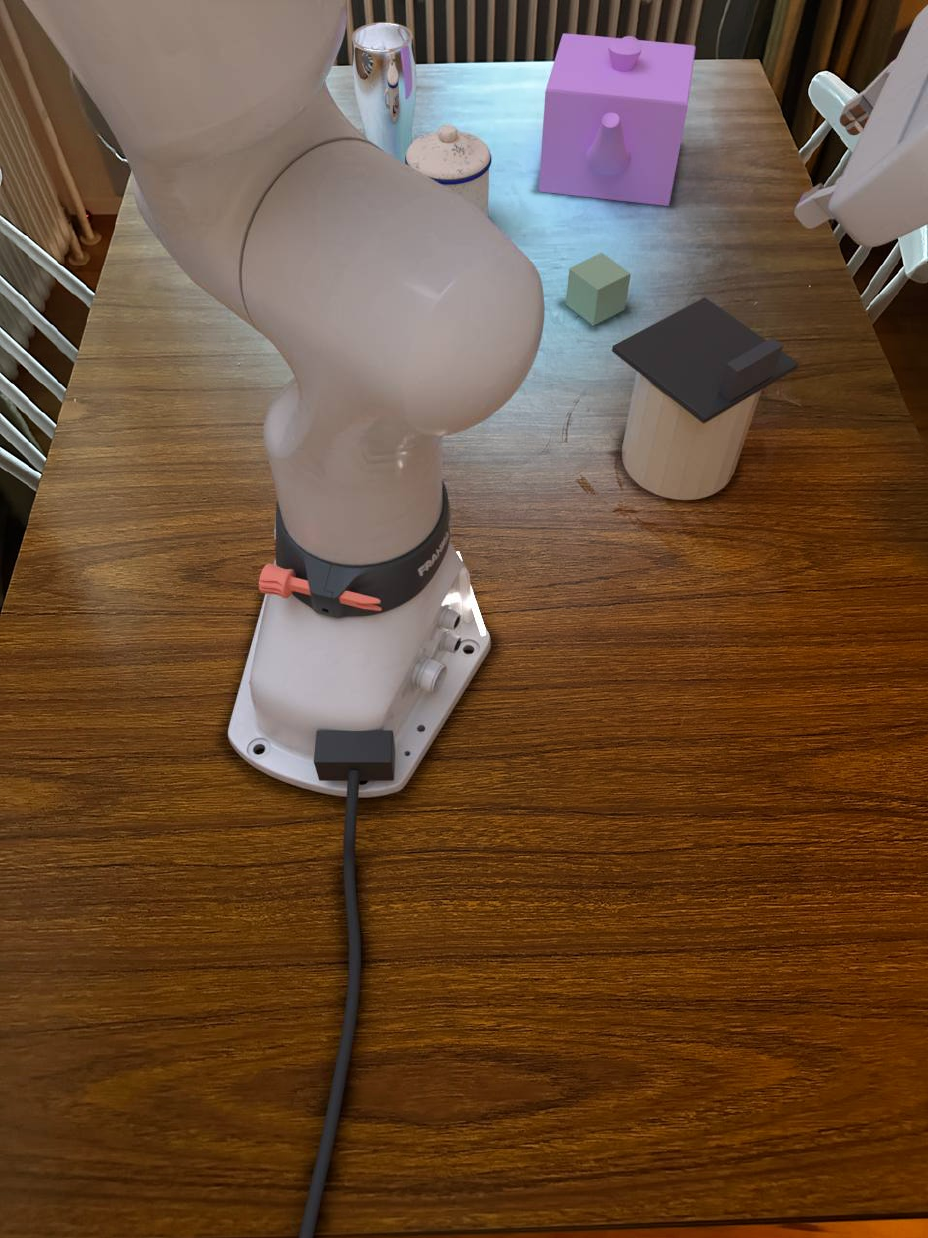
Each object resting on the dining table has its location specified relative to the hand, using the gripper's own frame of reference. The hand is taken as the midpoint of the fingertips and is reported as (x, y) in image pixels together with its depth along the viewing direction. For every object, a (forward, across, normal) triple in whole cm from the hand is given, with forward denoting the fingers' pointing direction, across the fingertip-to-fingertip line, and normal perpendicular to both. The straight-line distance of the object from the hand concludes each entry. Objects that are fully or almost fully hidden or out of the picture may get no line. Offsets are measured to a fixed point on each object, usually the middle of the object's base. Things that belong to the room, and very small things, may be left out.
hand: (825, 166), depth 63 cm
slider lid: (+16, +4, +7) cm, 18 cm away
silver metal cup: (+58, -24, -19) cm, 65 cm away
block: (+36, -11, +4) cm, 38 cm away
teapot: (+45, -35, 0) cm, 57 cm away
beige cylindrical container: (+25, +5, +14) cm, 29 cm away
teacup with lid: (+50, -16, -12) cm, 54 cm away
